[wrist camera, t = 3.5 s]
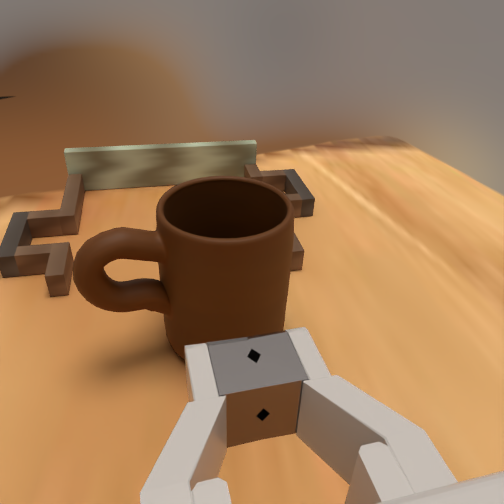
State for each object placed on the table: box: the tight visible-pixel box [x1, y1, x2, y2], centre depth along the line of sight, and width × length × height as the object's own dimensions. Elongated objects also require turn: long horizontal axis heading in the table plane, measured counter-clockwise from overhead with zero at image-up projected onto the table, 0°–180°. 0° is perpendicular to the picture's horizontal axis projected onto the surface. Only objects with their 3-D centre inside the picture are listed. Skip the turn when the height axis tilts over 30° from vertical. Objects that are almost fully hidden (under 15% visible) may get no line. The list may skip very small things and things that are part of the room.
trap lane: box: [0, 140, 315, 297], centre depth 39 cm, size 26×17×4 cm, turn 103°
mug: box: [73, 176, 294, 360], centre depth 26 cm, size 12×8×9 cm, turn 117°
